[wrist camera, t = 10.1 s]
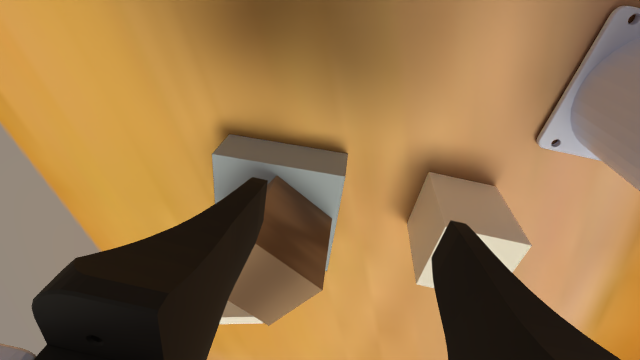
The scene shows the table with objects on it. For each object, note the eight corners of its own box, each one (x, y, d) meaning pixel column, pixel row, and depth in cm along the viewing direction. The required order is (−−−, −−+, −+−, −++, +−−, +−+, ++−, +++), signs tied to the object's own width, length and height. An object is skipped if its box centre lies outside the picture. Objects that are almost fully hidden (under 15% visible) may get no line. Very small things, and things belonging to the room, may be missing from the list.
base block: (348, 151, 24) (345, 176, 21) (331, 239, 28) (326, 271, 25) (231, 131, 24) (212, 154, 21) (233, 222, 28) (217, 251, 25)
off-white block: (495, 186, 23) (531, 245, 18) (467, 236, 26) (491, 300, 21) (428, 171, 23) (445, 226, 18) (406, 223, 26) (416, 284, 21)
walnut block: (332, 218, 22) (322, 290, 17) (288, 253, 25) (268, 325, 20) (276, 175, 21) (248, 239, 16) (236, 215, 23) (200, 283, 18)
